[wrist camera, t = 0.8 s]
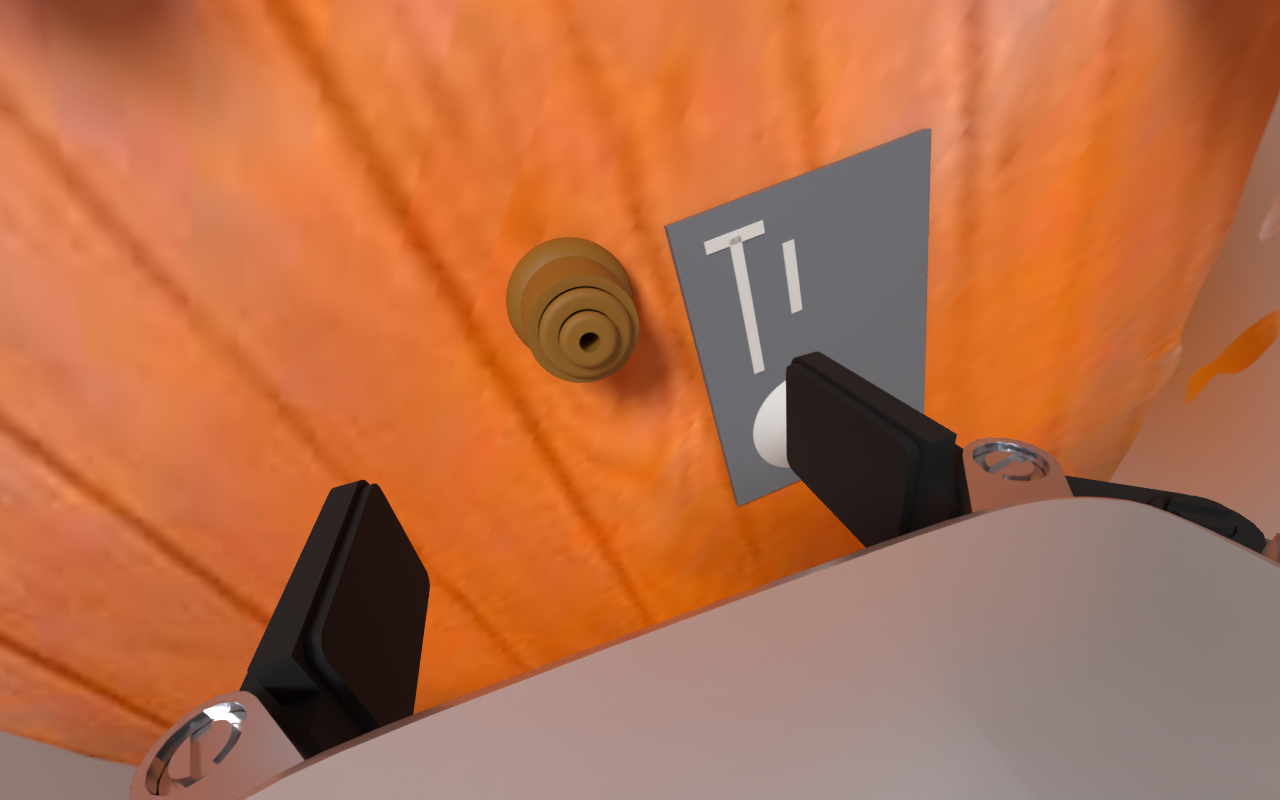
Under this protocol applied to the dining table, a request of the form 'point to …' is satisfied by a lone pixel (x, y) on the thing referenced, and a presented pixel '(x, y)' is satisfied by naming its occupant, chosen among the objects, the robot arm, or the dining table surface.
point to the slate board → (807, 294)
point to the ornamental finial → (573, 309)
